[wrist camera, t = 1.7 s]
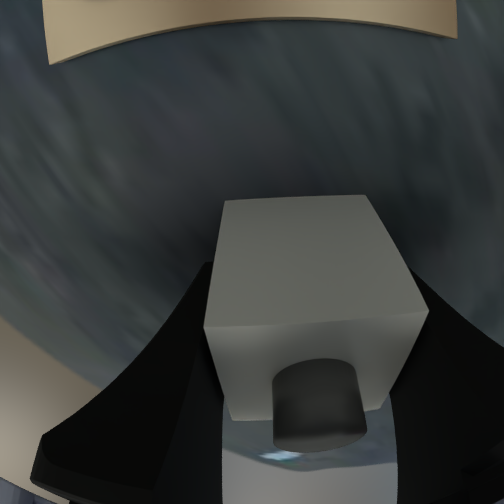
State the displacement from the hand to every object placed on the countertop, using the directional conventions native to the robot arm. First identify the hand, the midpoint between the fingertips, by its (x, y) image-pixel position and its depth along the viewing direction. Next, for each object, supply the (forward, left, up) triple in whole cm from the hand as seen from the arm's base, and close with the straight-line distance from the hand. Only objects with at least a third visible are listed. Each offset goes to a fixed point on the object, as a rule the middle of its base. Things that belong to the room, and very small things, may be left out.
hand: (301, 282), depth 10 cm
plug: (0, 0, -2) cm, 2 cm away
